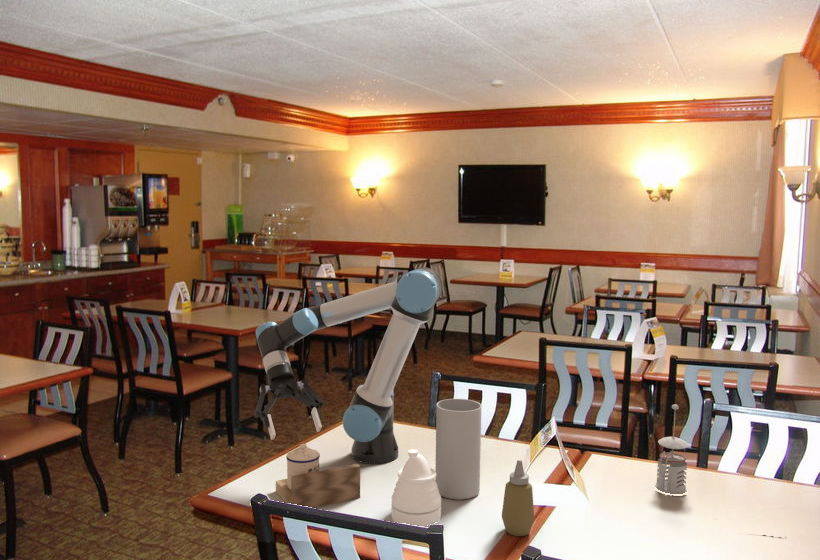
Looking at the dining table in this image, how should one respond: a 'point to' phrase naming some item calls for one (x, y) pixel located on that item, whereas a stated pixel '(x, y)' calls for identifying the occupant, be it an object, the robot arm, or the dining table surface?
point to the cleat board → (322, 487)
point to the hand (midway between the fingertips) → (297, 433)
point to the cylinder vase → (458, 448)
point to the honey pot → (416, 493)
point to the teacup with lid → (301, 462)
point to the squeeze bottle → (518, 503)
